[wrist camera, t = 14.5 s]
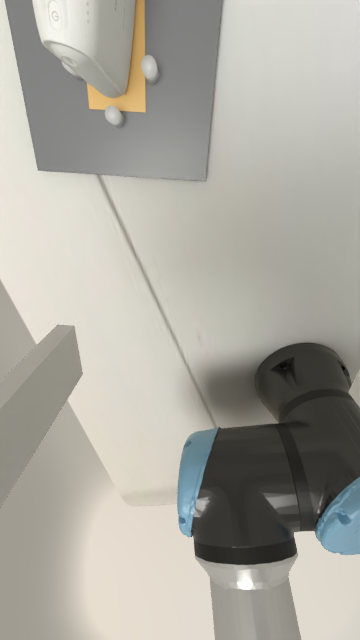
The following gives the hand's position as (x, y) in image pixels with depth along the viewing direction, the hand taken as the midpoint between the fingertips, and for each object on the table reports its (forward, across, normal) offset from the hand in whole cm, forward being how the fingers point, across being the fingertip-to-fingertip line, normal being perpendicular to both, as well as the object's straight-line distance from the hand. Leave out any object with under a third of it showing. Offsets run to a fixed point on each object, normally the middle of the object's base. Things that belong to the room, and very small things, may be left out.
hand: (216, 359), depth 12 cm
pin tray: (+25, +10, -20) cm, 34 cm away
